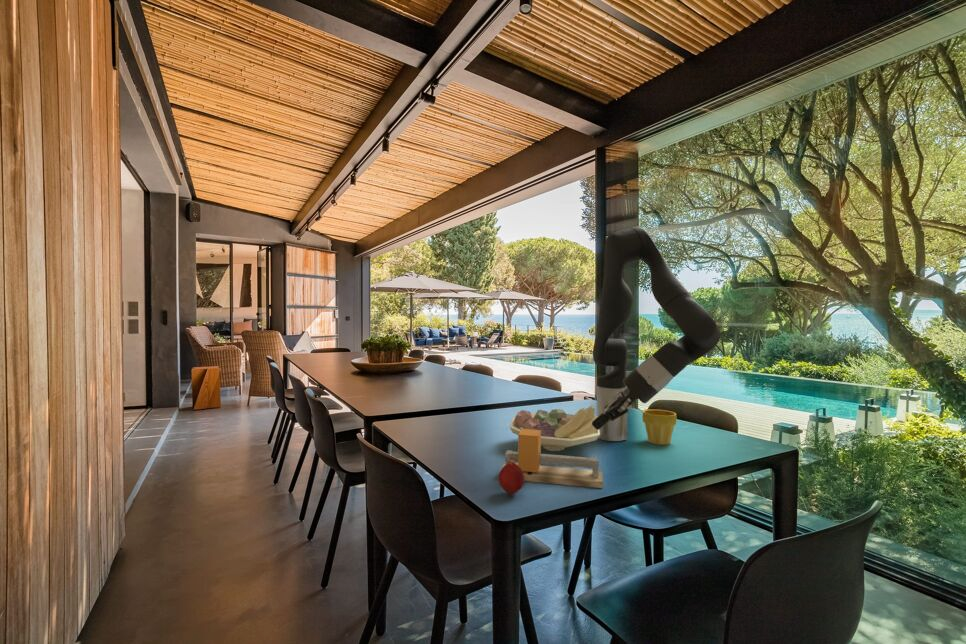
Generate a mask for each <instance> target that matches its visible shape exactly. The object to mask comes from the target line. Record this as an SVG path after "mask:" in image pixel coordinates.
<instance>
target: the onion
mask: <svg viewBox="0 0 966 644" xmlns="http://www.w3.org/2000/svg"><path fill="white" fill-rule="evenodd" d="M508 462H509V463H508V464H507V465H505V466H504V467H503V466H502V467H503V468H502V467H501V468H502V469H500V470H501V471H500V470H499V472H500V473H499V472H498V484H499V485H500V488H502V490H503V491H505V493H507V494H508V495H509V496H514V495H515V494H516V493H518V492H519V491H520V490H521V489H523V487H524V485H525V481H524V480H525V479H524V474H523V471H522V469H521V468H520V467H519V466H518V465H517V464H515V463H516V462H514V461H513V460H509V461H508Z"/></svg>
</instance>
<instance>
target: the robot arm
mask: <svg viewBox="0 0 966 644" xmlns="http://www.w3.org/2000/svg"><path fill="white" fill-rule="evenodd" d="M603 259H604V261H603V262H604V264H603V266H604V268H603V281H602V282H603V283H602V291H601V298H600V303H599V315H598V325H597V330H596V335H595V340H594V343H593V347H592V348H593V349H592V360H593V361H594V363H595V365H597V366H600V367H615V369H613V371H611V372H609V373H607V374H604V375H600V376H598V377H597V380H596V411H595V414H596V416H598V417H597V418H596V419H595V420H593V421H592V425H593V426H594V427H595V429H597V430H599V432H600V435H599V437H598V438H597V439H598V440H603V441H608V442H620V441H625V440H628V414H629V413H628V411H629V410H630V409H631V408H633V407H634V402H635V401H636V400H639V401H640V402H641V403H642V404H646V403H648V402H650V401H651V399H653V398H654V397H655V396H656V395H657V394H659V392H661V391H662V390H663V389H665V387H667V386H668V385H669V383H670V382H671V381H672V380H673V379H674V378H675V377H676V376H677V375H678V374H679V373H680V372H681V371H683V370H684V369H686V367H687V366H689V365H690V364H691V363H693V362H695V361H697V360H699V359H701V358H702V357H704V356H705V355H707V354H708V353H710V352H711V351H712V350H713V349H714V348H716V346H717V345H718V344H719V342H720V341H721V340H720V339H721V331H720V329H719V327H718V324H717V321H716V320H715V319H714V318H713V316H711V314H710V313H709V312H708V311H707V310H706V309H705V308H704V307H703V306H702V305H700V304H699V303H698V302H697V301H696V300H695V298H694V297H693V296H692V294H691V293H690V292H689V291H688V290H687V288H685V286H684V285H683V284H682V283H681V282H680V281H679V279H678V278H677V277H676V276H675V274H674V272H673V271H672V270H671V268H670V266H669V264H668V263H667V261H666V260H665V258H664V256H663V255H662V253H661V251H660V250H659V248H658V246H657V245H656V243H655V241H654V240H653V238H652V236H651V235H650V234H649V233H648V231H647V230H646V229H645V228H643V227H642V226H638V225H636V226H630V227H628V228H624V229H619V230H616V231H613V232H612V233H611V232H610V234H608V236H607V237H606V239H605V244H604V257H603ZM640 260H641V261H642V262H644V264H645V265H646V266H647V267H648V270H649V272H650V273H649V274H650V286H651V293H652V294H653V297H654V299H655V301H656V303H658V304H659V305H660V307H661V308H662V309H663V311H664V312H665V313H666V314H667V315H668V317H670V318H671V319H672V320H674V322H675V323H676V325H677V327H678V328H679V329H680V330H681V332H682V333H683V336H681V337H680V338H678V339H677V340H676V341H668V342H665V343H664V344H663V345H662V346H661V347H659V348H658V350H656V351H655V352H654V353H652V355H650V356H649V357H648V358H646V359H645V360H644V361H642V362H641V363H640V364H639V365H638V366H637V367H635V368H634V369H633V370H632V371H631V372H629V374H628V375H627V363H628V343H627V341H626V340H625V339H624V338H610V337H611V336H612V335H613V334H614V333H615V332H616V331H618V330H619V328H621V327H623V325H624V324H625V323H626V322H627V321H628V320H629V318H630V316H631V312H632V309H633V308H632V307H633V302H634V295H633V293H632V291H631V289H630V287H629V286H628V285H627V283H626V282H625V280H624V278H623V274H624V273H623V271H624V268H625V265H627V264H631V263H634V262H637V261H640Z"/></svg>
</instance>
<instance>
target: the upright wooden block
mask: <svg viewBox="0 0 966 644" xmlns="http://www.w3.org/2000/svg"><path fill="white" fill-rule="evenodd" d="M517 437H518V438H517V439H518V441H517V446H518V447H517V452H518V462H517V463H518V466H519V467H520V468H521V469H522V471H527V472H538V471H539V468H540V465H541V464H539V454H542V453H541V451H542V448H541V447H542V445H541V430H531V429H521V431H520V433H519V434H518V435H517Z"/></svg>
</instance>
